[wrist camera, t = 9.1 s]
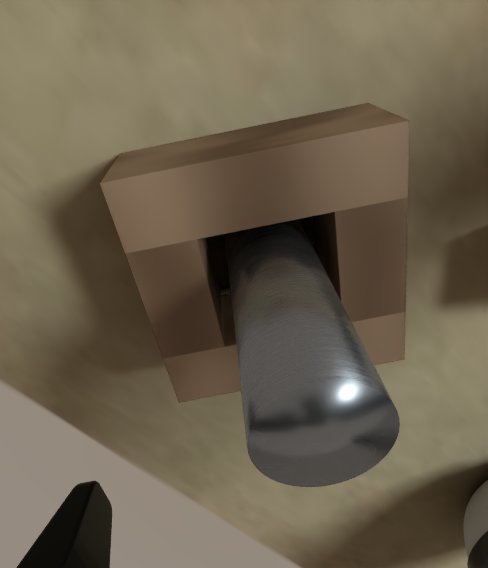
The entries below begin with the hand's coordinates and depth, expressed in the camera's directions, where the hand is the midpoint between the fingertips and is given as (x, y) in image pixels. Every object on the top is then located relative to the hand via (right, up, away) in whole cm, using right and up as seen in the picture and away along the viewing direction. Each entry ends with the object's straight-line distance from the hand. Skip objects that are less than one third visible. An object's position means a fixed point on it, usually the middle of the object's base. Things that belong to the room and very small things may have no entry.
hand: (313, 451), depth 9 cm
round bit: (-1, +5, +9) cm, 10 cm away
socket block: (-1, +5, +9) cm, 10 cm away
